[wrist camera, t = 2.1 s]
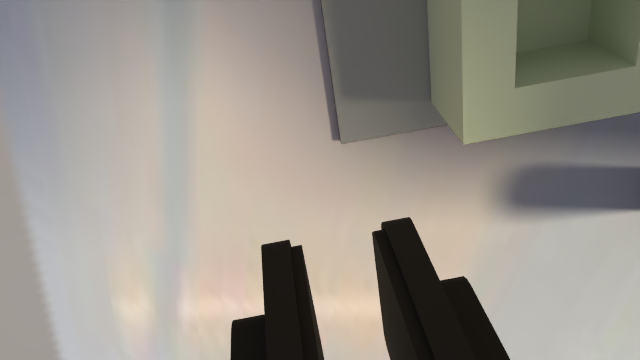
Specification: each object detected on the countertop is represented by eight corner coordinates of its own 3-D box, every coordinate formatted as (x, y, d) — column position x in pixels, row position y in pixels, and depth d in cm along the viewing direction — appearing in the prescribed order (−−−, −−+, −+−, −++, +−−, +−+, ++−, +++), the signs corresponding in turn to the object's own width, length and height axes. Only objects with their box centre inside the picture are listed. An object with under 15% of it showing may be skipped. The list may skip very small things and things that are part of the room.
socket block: (643, -146, 25) (726, -146, 21) (615, 69, 30) (677, 105, 26) (422, -108, 25) (460, -100, 20) (431, 102, 30) (463, 144, 26)
